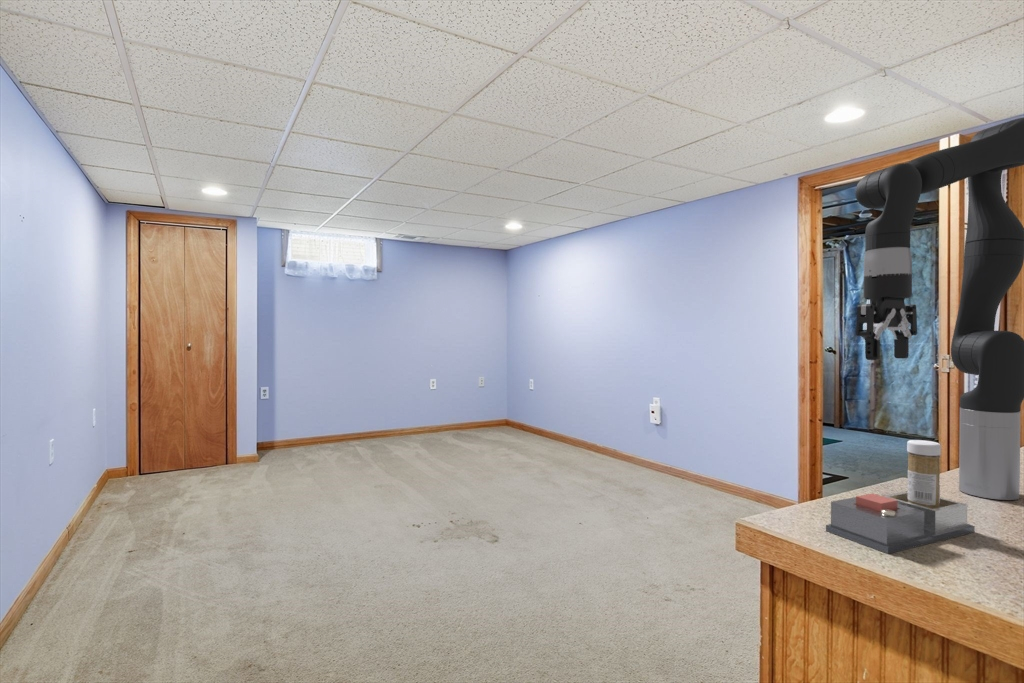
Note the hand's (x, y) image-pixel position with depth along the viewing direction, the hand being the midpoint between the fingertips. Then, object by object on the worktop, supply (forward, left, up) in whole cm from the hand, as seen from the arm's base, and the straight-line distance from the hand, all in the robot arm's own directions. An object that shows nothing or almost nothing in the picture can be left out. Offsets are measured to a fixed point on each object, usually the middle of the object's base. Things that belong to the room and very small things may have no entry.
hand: (887, 359), depth 102 cm
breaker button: (+18, +10, -27) cm, 34 cm away
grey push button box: (+12, +10, -28) cm, 32 cm away
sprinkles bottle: (+6, +10, -27) cm, 29 cm away
